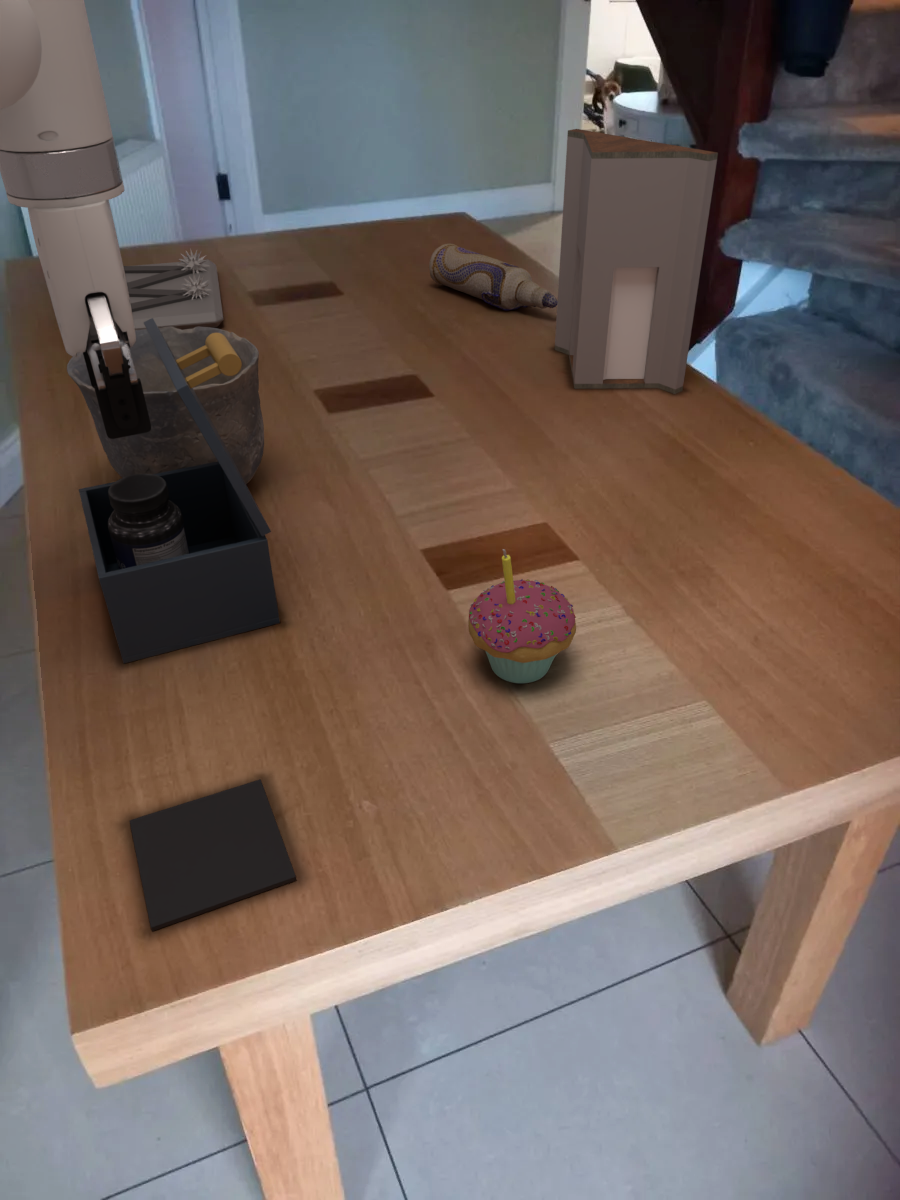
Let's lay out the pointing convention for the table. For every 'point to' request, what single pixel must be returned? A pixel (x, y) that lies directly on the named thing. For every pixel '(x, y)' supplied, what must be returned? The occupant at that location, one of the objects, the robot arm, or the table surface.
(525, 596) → the cupcake
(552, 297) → the decorative bottle
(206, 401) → the bowl
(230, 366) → the lid
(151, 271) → the gray box with spikes
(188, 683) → the table surface
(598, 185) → the cabinet
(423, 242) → the table surface
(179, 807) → the mat
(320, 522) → the table surface
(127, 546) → the pill bottle
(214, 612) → the chest
